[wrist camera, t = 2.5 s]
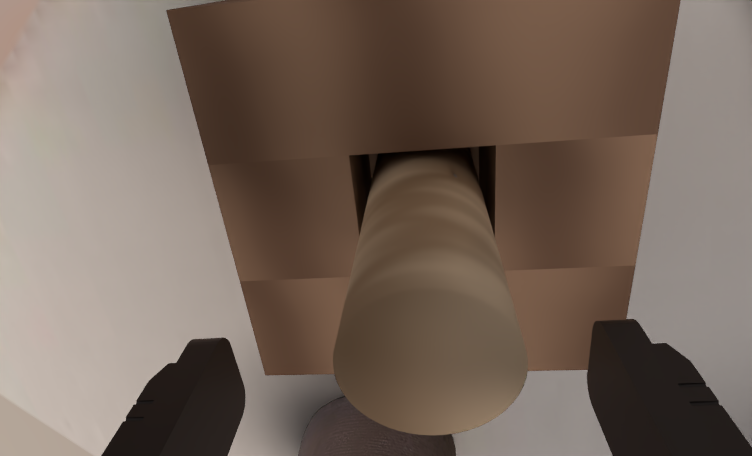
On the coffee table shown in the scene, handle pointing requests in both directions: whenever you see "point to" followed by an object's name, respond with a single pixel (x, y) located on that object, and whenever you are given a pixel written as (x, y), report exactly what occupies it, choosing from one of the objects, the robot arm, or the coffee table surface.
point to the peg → (428, 302)
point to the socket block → (429, 146)
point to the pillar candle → (365, 436)
